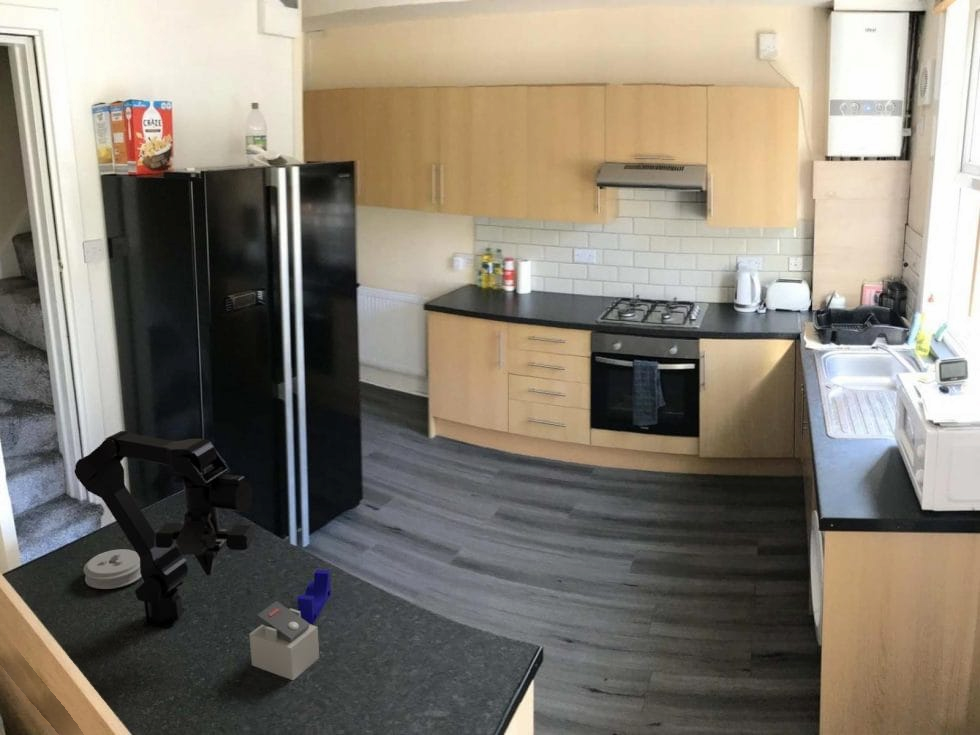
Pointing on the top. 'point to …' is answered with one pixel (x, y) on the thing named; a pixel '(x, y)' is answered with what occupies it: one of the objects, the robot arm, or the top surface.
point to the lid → (113, 569)
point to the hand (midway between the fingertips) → (209, 574)
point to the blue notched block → (315, 596)
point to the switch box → (284, 650)
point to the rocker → (283, 621)
